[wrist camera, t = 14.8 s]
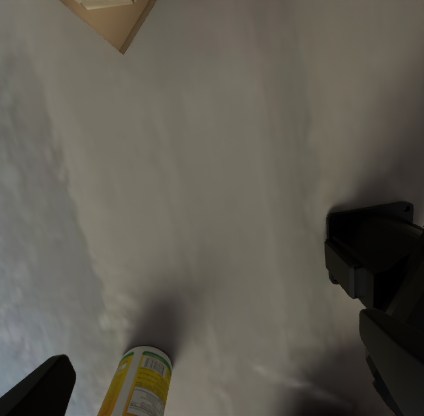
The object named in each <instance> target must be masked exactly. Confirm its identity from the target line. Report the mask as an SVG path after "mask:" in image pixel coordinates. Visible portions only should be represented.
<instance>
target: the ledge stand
mask: <svg viewBox="0 0 424 416" xmlns="http://www.w3.org/2000/svg"><path fill="white" fill-rule="evenodd" d="M60 1H61V2H62V3H63V4H65V5H66V6H67V7H68V8H69V9H70V10H72V11H73V12H74V13H75V14H76V15H77V16H79V17H80V18H81V19H82V20H83V21H84V22H86V23H87V24H88V25H89V26H90V27H91V28H93V29H94V30H95V31H96V32H97V33H98V34H100V35H101V36H102V37H103V38H104V39H105V40H107V41H108V42H109V43H110V44H111V45H112V46H114V47H115V48H116V49H117V50H118V51H120V52H121V53H122V54H124V53H125V51H126V50H127V48H128V46H129V45H130V43H131V41H132V40H133V38H134V36H135V35H136V33H137V31H138V30H139V28H140V26H141V25H142V23H143V22H144V20H145V18H146V17H147V15H148V13H149V12H150V10H151V8H152V7H153V5H154V3H155V2H156V0H60Z"/></svg>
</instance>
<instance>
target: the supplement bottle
mask: <svg viewBox="0 0 424 416" xmlns="http://www.w3.org/2000/svg"><path fill="white" fill-rule="evenodd" d="M171 374H172V365H171V362H170V359H169V358H168V356H167V355H166V354H165V353H164V352H162V351H161V350H159V349H157V348H154V347H150V346H139V347H135V348H133V349H131V350H129V351H128V352H127V353H126V354H125V355H124V356H123V357H122V359H121V361H120V363H119V366H118V368H117V370H116V373H115V375H114V377H113V380H112V382H111V385H110V387H109V389H108V392H107V394H106V396H105V399H104V401H103V403H102V406H101V408H100V410H99V413H98V415H97V416H164V410H165V405H166V400H167V395H168V390H169V384H170V380H171Z"/></svg>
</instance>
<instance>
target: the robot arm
mask: <svg viewBox="0 0 424 416" xmlns="http://www.w3.org/2000/svg"><path fill="white" fill-rule="evenodd" d="M405 206H406V209H405V210H403V209H404V207H405ZM333 218H336V220H335V221H334V222H331V221H332V219H333ZM326 225H327V239H326V241H325V242H324V243H325V261H326V268H327V269H328V270H329V279H330V281H331V282H332V283H333V284H340V285H341V287H342V288H343V289H344V290H345V292H346V293H347V294H348V295H349V296H350V297H351V298H352V299H356V298H358V299H359V300H360V301H361V302H362V304H363V305H364V306H365V307H366V308H367V309H362V310H361V311H360V314H359V332H360V336H361V339H362V341H363V343H364V345H365V347H366V348H365V349H366V361H367V363H368V366H369V368H370V370H371V373H372V375H373V377H374V380H373V386H374V388H375V389H376V391H377V392H378V394H379V395H380V396H381V398H382V399H383V401H384V402H385V403H386V405H387V406H388V407H389V408H390V409H391V410H392V411H393V412H394V414H395V415H396V416H424V228H422V227H420V226H418V225H416V224H414V223H413V205H412V204H411V203H409V202H406V201H403V202H397V203H391V204H385V205H379V206H373V207H367V208H361V209H355V210H350V211H344V212H338V213H332V214H330V215H328V217H327V219H326ZM423 227H424V226H423ZM75 381H76V372H75V370H74V368H73V366H72V364H71V362H70V360H69V358H68V356H67V355H64V354H63V355H56V356H52V357H50V358H49V359H48V360H46V361H45V362H44V363H43V364H41V365H40V366H39V367H38V368H36V369H35V370H34V371H33V372H32V373H30V374H29V375H28V376H27V377H25V378H24V379H23V380H22V381H20V382H19V383H18V384H17V385H15V386H14V387H13V388H12V389H11V390H9V391H8V392H7V393H6V394H4V395H3V396H2V397H1V398H0V416H65V413H66V410H67V406H68V403H69V400H70V397H71V394H72V391H73V388H74V385H75Z"/></svg>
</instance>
